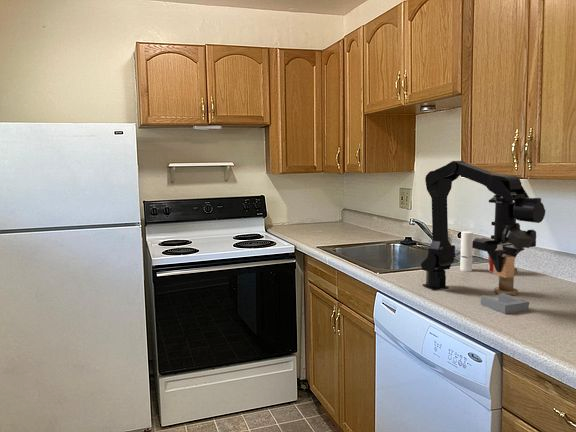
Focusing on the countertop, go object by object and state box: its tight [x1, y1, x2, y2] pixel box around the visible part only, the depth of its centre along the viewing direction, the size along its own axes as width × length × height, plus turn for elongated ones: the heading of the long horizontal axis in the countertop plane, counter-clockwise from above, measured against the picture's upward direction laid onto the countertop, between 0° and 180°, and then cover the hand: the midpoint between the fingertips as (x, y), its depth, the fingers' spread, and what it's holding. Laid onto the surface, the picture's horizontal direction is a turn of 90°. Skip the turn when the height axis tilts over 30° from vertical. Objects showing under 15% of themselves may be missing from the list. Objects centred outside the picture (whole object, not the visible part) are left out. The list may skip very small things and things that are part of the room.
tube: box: [459, 230, 474, 272], centre depth 190 cm, size 4×4×15 cm
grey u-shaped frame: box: [480, 293, 530, 315], centre depth 145 cm, size 10×9×2 cm
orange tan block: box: [492, 254, 516, 278], centre depth 144 cm, size 5×3×6 cm, turn 20°
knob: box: [493, 267, 519, 296], centre depth 160 cm, size 7×7×8 cm
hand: (503, 271), depth 145 cm, fingers closed on orange tan block, 3 cm apart
